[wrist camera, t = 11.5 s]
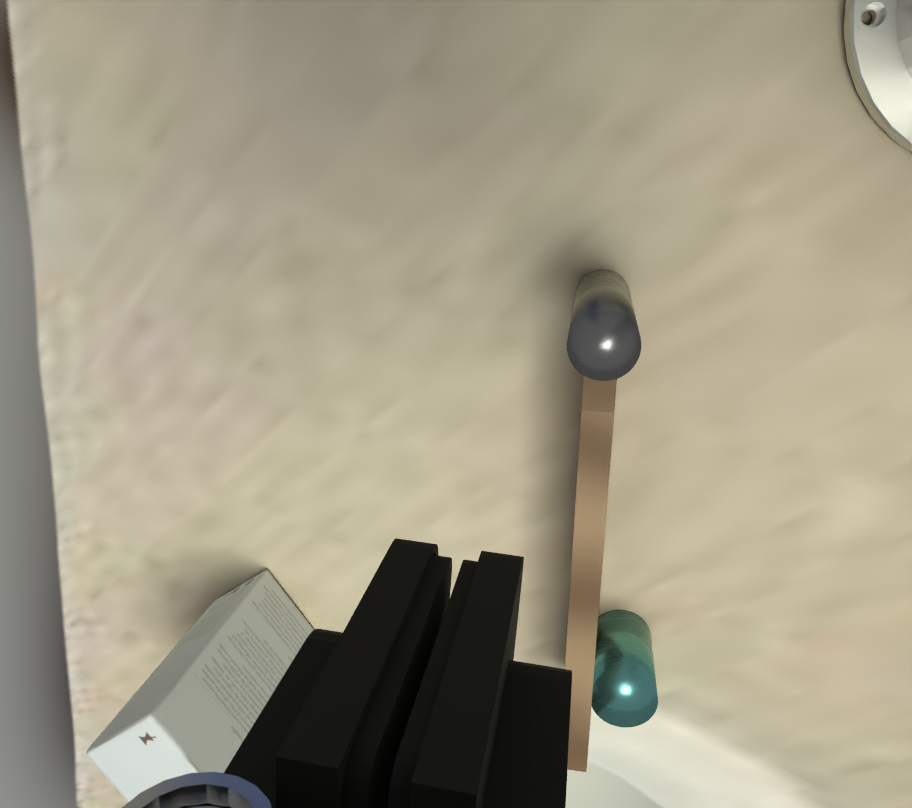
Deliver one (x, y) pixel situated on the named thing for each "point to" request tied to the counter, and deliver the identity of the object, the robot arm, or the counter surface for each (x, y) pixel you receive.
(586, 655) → the gate
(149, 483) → the counter surface
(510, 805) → the robot arm
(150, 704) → the skincare box
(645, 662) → the teal elongated shape
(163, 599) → the counter surface
